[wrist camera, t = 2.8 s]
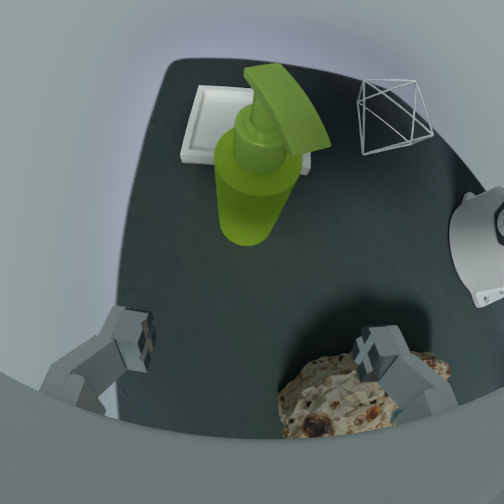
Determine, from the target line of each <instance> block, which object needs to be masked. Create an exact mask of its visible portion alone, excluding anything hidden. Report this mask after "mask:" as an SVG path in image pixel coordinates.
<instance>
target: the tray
mask: <svg viewBox="0 0 504 504" xmlns="http://www.w3.org/2000/svg"><path fill="white" fill-rule="evenodd" d="M253 95H254V91H253V89H249V88H238V87H224V86H200V85H199V87H198V90H197V93H196V97H195V100H194V104H193V107H192V111H191V114H190V118H189V122H188V125H187V129H186V133H185V137H184V141H183V145H182V149H181V153H180V157H181V160H182V163H194V164H209V165H214V151H215V147H216V145H217V143H218V141H219V139H220V138H221V137H222V136H223V135H224V134H225V133H226V132H227V131H228V130H230V129H232V128H233V127H234V124H235V118H236V116H237V114H238V112H239V111H240V110H241V109H242V108H244V107H245V106H247V105H249V104H252V103H253ZM310 169H311V156H310V152H308V153H304V154H302V170H301V173H300V174H301V175H307V174H308V172H309V171H310Z"/></svg>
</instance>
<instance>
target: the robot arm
mask: <svg viewBox="0 0 504 504" xmlns="http://www.w3.org/2000/svg"><path fill="white" fill-rule="evenodd" d="M449 240H450V249H451V254H452V258H453V262H454V265H455V268H456V270H457V273H458V275H459V277H460V278H461V280H462V282H463V283H464V285H465V286H466V287H467V288H468V289H469V291H470V293H471V295H472V298H473V301H474V303H475V305H476V307H477V308H480V307H484V306H486V305H488V304H490V303H492V302H495V301H497V300H499V299H501V298H503V297H504V188H502V187H501V186H497V187H495V188H493V189H490V190H488V191H486V192H483V193H481V194H479V195H477V196H476V195H474V194H473V193H471V192H468V193H466V194H465V195H464V197H463V201H462V204H461V205H460V206H459V207H458V208H457V209H456V210H455V211H454V213H453V215H452V218H451V222H450V229H449ZM152 321H153V314H152V312H151V311H145V310H140V309H134V308H129V307H123V306H118V305H115V306H113V307H112V309H111V311H110V313H109V315H108V317H107V319H106V321H105V323H104V325H103V327H102V329H101V331H100V333H99V335H98V336H96V335H95V336H93V337H92V338H90V339H89V340H87V341H86V342H84V343H83V344H81V345H80V346H78V347H77V348H75V349H74V350H72V351H71V352H69V353H68V354H66V355H65V356H63V357H62V358H60V359H59V360H58V361H56V362H54V363H53V364H51V366H50V368H49V371H48V372H47V375H46V377H45V379H44V381H43V383H42V386H41V388H40V390H39V391H37V390H35V389H33V388H30V387H29V386H27V385H24V384H22V383H20V382H19V381H16V380H15V379H13V378H11V377H9V376H7V375H5V374H3V373H2V372H0V504H504V387H503V388H500V389H498V390H496V391H494V392H492V393H490V394H487V395H485V396H483V397H481V398H478V399H476V400H473V401H471V402H469V403H466V404H463V405H461V406H458V403H457V401H456V398H455V396H454V393H453V391H452V389H451V386H450V384H449V383H448V382H447V381H446V380H445V379H443V378H442V377H441V376H440V375H439V374H437V373H436V372H435V371H434V370H433V369H431V368H430V367H429V366H428V365H427V364H425V363H424V362H423V361H422V360H421V359H419V358H418V357H417V356H416V355H414V354H411V353H410V351H409V348H408V346H407V344H406V342H405V340H404V338H403V336H402V333H401V331H400V329H399V327H398V326H397V325H386V326H385V325H380V326H364V327H363V328H362V330H361V332H360V333H361V336H360V337H359V338H358V339H356V341H355V343H354V345H353V350H352V353H353V359H354V361H355V362H356V363H357V364H358V365H359V366H358V368H357V373H358V376H359V380H360V383H365V382H378V384H379V385H380V386H381V387H382V388H383V389H384V390H385V392H386V393H387V394H388V395H389V396H390V397H391V398H392V400H393V401H394V402H395V403H396V404H397V405H398V406H399V408H400V409H401V410H402V411H403V412H401V413H400V414H399V415H398V416H397V417H396V418H395V420H394V421H395V425H394V426H390V427H385V428H380V429H375V430H370V431H364V432H358V433H351V434H344V435H336V436H326V437H315V438H300V439H237V438H222V437H211V436H201V435H193V434H186V433H179V432H173V431H167V430H161V429H156V428H151V427H146V426H142V425H137V424H133V423H129V422H125V421H121V420H118V419H114V418H110V417H107V416H105V412H106V409H105V408H104V406H103V405H102V403H101V402H100V401H99V399H98V397H99V396H100V395H101V394H102V393H103V392H104V391H105V390H106V389H107V388H108V387H109V386H110V385H111V384H112V383H114V382H115V381H116V380H117V379H118V378H119V377H120V376H121V375H122V374H123V373H124V372H125V371H126V369H129V370H135V371H140V372H146V373H147V370H148V367H149V363H150V360H151V357H150V354H149V353H150V352H151V351H152V350H154V346H155V341H156V329H155V326H154V325H153V324H152Z"/></svg>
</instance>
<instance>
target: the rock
mask: <svg viewBox="0 0 504 504" xmlns="http://www.w3.org/2000/svg"><path fill="white" fill-rule="evenodd" d="M410 353H411V354H414V355H416V356H417V357H418V358H419V359H421V360H422V361H423V362H424V363H425V364H427V365H428V366H429V367H430V368H431V369H433V370H434V371H435V372H436V373H437V374H439V375H440V376H441V377H442V378H443V379H445V380H446V381H447V379H448V377H449V376H450V375H451V370H450V367H449V365H448V363H446V362H444V361H443V360H441V359H440V358H439V357H438V356H436V355H434V353H431V352H424V353H420V352H415V351H410ZM358 366H359V365H358V364H357V363H356V362H355V361H354V359H353V353H352V351H351V352H350V353H349V354H346V353H342V354H340V355H338V356H334V357H332V356H331V357H327V356H325V357H320V358H319V359H318V360H314V361H311V362H308V363H307V364H306V365H305V366H304V367H303V368H302V370H301V372H300V373H299V375H298V376H297V377H296V378H295V379H294V380H293V381H291V382H290V383H288V384H287V385H286V386H285V388H284V389H283V390H282V391H280V392H279V393H278V397H277V401H278V412H279V416H280V420H281V421H282V422H283V423H284V426H283V429H282V433H283V438H282V439H300V438H315V437H326V436H336V435H344V434H351V433H358V432H364V431H370V430H375V429H380V428H385V427H390V426H394V425H395V421H394V420H395V418H396V417H397V416H398V415H399V414H400V413H401V412H403V411H402V410H401V409H400V408H399V406H398V405H397V404H396V403H395V402H394V401H393V400H392V398H391V397H390V396H389V395H388V394H387V393H386V392H385V390H384V389H383V388H382V387H381V386H380V385H379V384H378V382H365V383H360V380H359V376H358V373H357V368H358Z"/></svg>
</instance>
